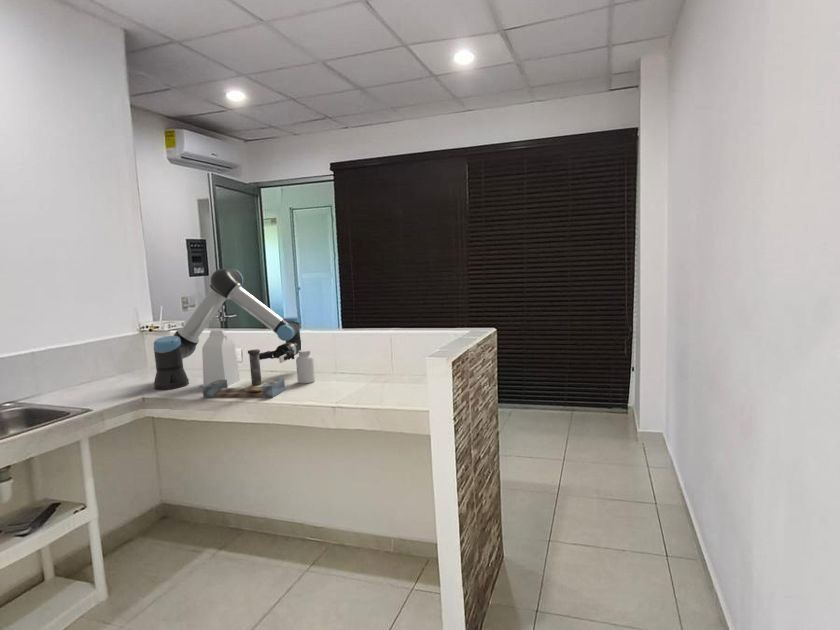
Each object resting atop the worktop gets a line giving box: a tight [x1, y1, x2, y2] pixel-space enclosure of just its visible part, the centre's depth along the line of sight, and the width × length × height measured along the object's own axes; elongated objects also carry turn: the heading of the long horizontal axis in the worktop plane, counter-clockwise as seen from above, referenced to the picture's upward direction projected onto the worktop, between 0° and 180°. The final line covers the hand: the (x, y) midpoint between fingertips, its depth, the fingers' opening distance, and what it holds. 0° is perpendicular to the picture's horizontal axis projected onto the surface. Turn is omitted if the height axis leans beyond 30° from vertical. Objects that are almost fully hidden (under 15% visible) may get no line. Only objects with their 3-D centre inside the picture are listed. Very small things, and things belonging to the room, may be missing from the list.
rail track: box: [202, 378, 286, 399], centre depth 221 cm, size 32×12×6 cm, turn 81°
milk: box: [201, 329, 241, 387], centre depth 242 cm, size 12×12×26 cm
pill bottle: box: [295, 349, 316, 384], centre depth 238 cm, size 8×8×15 cm
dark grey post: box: [244, 349, 270, 391], centre depth 219 cm, size 7×8×17 cm
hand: (265, 360), depth 229 cm, fingers open, 13 cm apart
